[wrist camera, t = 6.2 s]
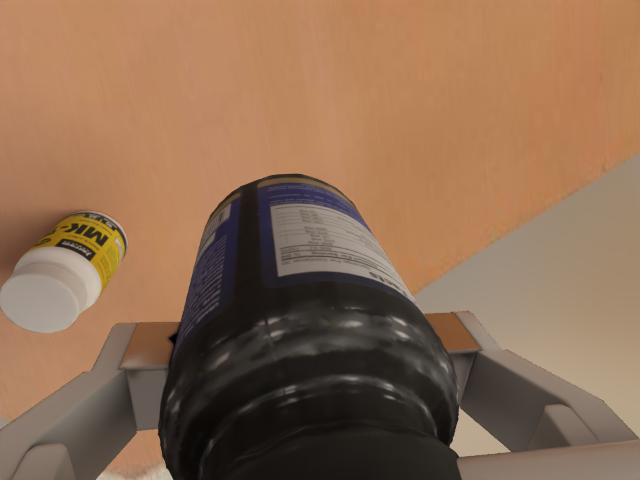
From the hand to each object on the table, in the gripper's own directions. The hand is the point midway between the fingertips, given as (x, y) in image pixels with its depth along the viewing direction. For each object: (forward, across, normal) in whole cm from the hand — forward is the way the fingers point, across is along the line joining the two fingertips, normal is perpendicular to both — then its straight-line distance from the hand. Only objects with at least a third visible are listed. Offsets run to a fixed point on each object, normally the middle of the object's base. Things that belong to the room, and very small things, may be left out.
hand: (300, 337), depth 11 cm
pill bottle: (+5, 0, 0) cm, 5 cm away
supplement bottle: (+21, +13, +7) cm, 25 cm away
